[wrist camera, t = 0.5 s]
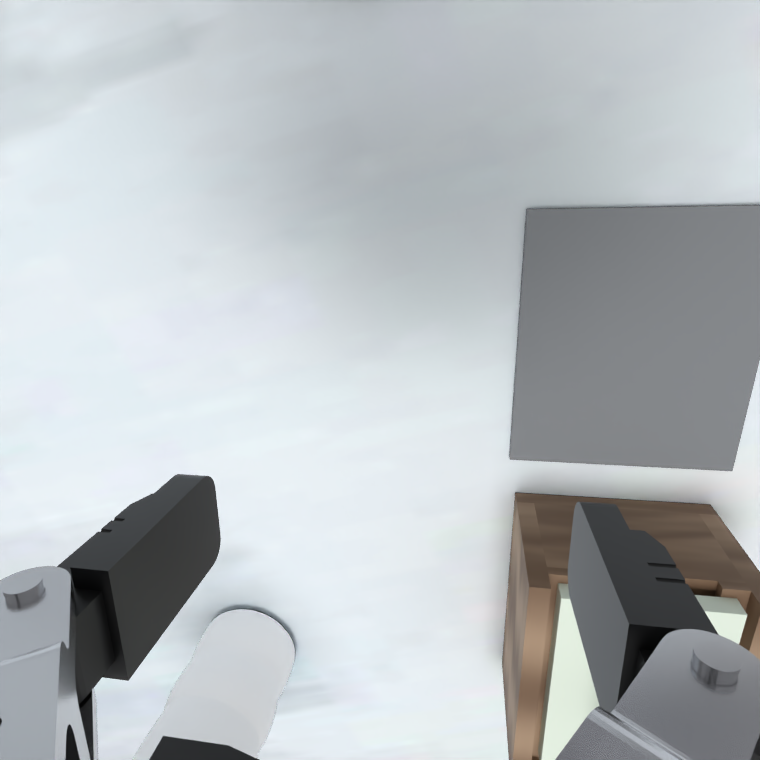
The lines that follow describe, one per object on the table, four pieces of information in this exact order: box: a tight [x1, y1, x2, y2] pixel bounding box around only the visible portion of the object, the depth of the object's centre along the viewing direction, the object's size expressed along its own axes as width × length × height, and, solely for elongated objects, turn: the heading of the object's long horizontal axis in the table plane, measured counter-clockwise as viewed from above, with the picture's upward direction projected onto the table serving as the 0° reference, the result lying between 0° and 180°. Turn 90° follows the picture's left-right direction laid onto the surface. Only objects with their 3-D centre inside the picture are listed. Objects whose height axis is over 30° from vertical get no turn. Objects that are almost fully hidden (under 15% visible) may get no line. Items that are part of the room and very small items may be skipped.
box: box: [502, 493, 760, 760], centre depth 30 cm, size 14×11×8 cm
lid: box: [538, 583, 747, 760], centre depth 25 cm, size 12×8×6 cm, turn 1°
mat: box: [509, 205, 760, 471], centre depth 28 cm, size 14×12×1 cm
